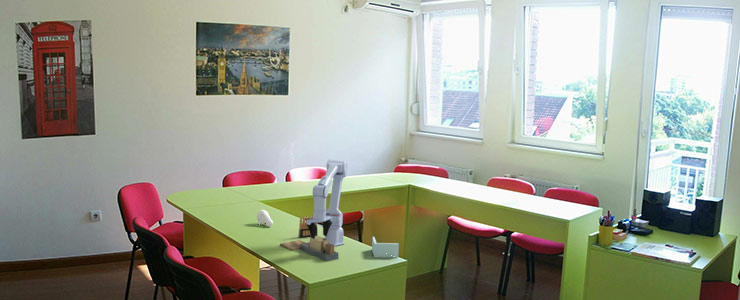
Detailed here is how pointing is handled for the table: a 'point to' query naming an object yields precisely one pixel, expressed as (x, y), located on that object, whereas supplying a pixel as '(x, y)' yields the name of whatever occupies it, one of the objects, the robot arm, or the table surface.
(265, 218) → the white toy sheep
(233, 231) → the table surface
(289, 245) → the walnut board
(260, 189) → the table surface
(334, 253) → the body
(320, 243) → the tan rectangular block
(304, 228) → the ammunition clip
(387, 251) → the right angle wall
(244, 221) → the table surface
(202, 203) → the table surface
